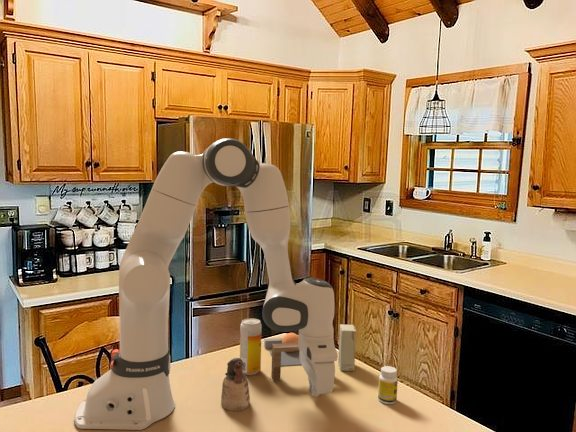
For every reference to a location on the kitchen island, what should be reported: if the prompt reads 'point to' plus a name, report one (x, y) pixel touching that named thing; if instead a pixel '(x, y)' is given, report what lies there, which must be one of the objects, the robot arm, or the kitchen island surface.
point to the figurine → (235, 387)
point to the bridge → (277, 357)
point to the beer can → (250, 346)
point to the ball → (290, 339)
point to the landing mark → (289, 358)
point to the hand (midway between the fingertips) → (313, 393)
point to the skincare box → (347, 347)
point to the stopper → (272, 342)
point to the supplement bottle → (388, 385)
